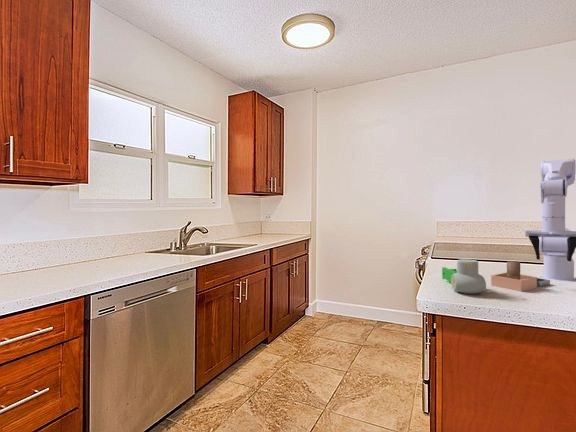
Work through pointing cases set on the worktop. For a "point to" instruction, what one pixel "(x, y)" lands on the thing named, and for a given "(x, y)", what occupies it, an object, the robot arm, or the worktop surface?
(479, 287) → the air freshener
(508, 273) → the walnut strut
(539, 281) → the metal socket
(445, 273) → the pipe clamp
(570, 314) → the worktop surface
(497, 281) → the terracotta bin
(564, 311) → the worktop surface
